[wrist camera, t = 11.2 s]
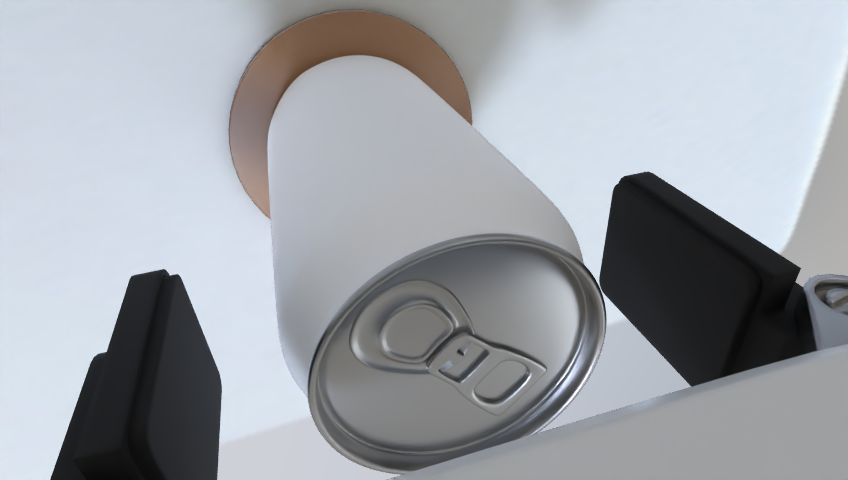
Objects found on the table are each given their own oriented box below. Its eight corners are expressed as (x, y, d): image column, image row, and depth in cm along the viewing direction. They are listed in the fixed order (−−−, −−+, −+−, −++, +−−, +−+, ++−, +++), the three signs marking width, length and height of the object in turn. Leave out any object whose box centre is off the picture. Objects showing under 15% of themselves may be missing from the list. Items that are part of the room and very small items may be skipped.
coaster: (195, 26, 16) (194, 27, 16) (466, -5, 18) (470, -4, 18) (262, 261, 21) (262, 266, 21) (471, 219, 23) (474, 223, 22)
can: (342, 8, 17) (467, 126, 7) (474, 126, 20) (685, 319, 10) (229, 160, 18) (198, 437, 8) (369, 246, 22) (466, 517, 12)
